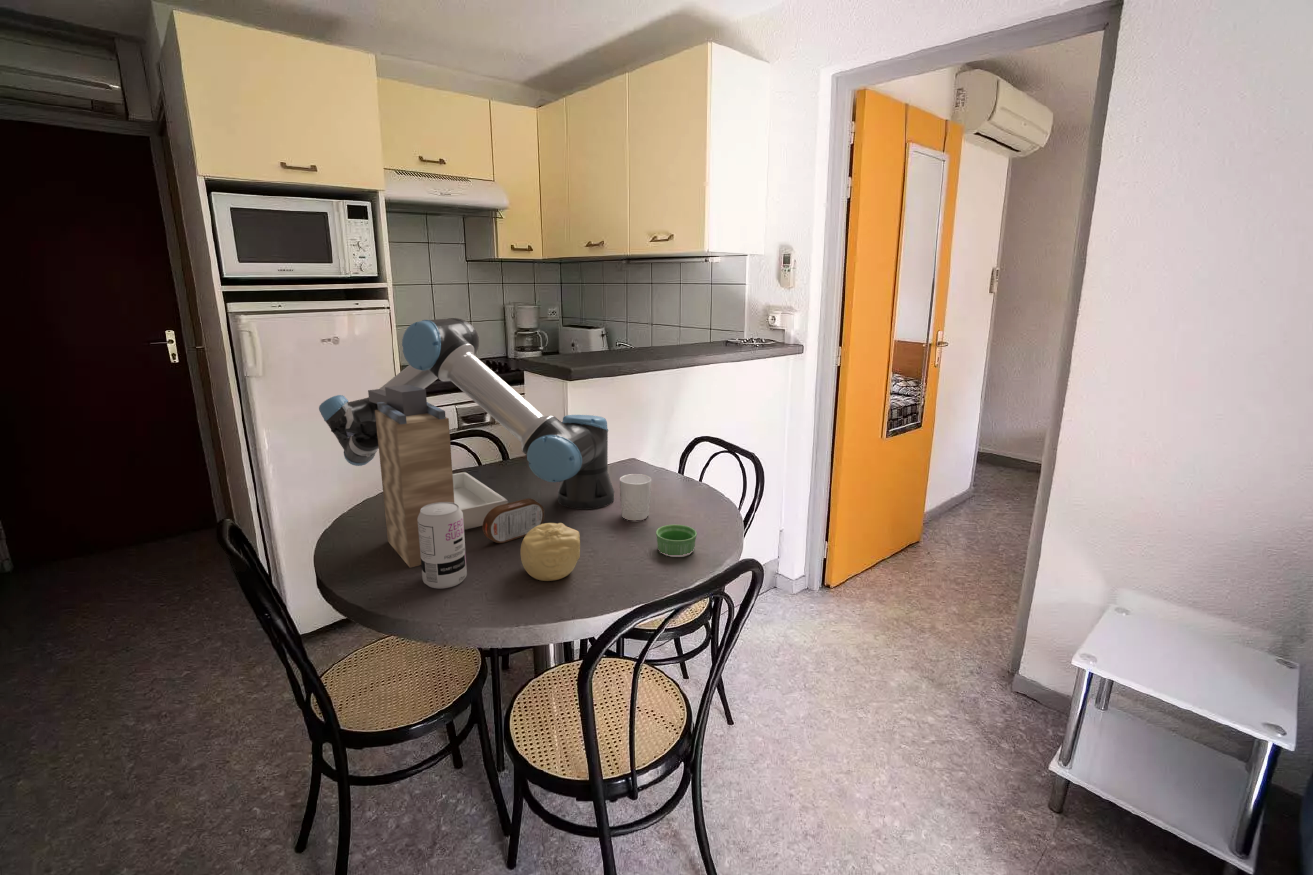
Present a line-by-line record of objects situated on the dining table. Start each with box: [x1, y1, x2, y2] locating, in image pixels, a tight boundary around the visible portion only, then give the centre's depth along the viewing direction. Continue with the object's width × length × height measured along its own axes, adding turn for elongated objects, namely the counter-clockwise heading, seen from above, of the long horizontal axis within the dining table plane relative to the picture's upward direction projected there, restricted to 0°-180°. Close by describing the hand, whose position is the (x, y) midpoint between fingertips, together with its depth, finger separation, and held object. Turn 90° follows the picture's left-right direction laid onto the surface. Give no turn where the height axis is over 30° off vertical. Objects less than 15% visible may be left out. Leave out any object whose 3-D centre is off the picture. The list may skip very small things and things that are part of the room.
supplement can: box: [417, 502, 468, 589], centre depth 119 cm, size 8×8×15 cm
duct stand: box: [375, 401, 454, 569], centre depth 131 cm, size 16×10×32 cm, turn 38°
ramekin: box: [655, 524, 698, 555], centre depth 135 cm, size 9×9×4 cm
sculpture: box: [520, 522, 581, 582], centre depth 123 cm, size 11×12×11 cm
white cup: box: [619, 473, 652, 521], centre depth 153 cm, size 8×8×10 cm
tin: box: [482, 497, 545, 544], centre depth 140 cm, size 15×3×8 cm, turn 135°
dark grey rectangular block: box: [367, 385, 428, 416], centre depth 133 cm, size 20×5×5 cm, turn 46°
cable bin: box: [452, 471, 509, 531], centre depth 157 cm, size 28×14×5 cm, turn 38°
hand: (382, 410), depth 145 cm, fingers open, 13 cm apart
